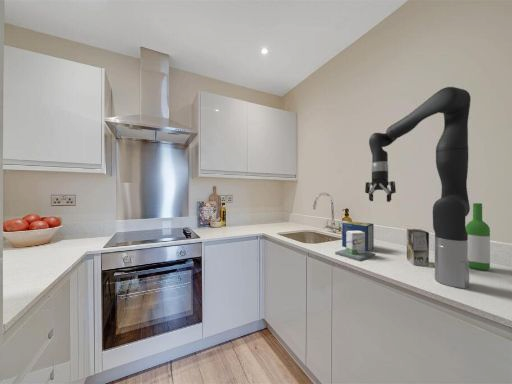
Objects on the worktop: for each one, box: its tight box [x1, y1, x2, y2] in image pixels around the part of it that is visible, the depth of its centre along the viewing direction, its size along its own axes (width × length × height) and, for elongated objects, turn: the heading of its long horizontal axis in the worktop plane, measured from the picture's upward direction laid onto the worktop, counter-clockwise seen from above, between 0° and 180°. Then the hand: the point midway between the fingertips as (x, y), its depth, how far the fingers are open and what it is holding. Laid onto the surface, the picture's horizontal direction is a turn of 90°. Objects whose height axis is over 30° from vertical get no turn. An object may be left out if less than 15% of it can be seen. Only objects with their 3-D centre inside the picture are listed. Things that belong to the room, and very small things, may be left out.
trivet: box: [334, 248, 376, 262], centre depth 114 cm, size 14×16×1 cm
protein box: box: [341, 220, 375, 252], centre depth 129 cm, size 10×15×16 cm
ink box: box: [345, 231, 365, 254], centre depth 114 cm, size 8×5×12 cm, turn 104°
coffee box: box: [406, 228, 430, 267], centre depth 101 cm, size 9×6×16 cm
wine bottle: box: [465, 202, 491, 271], centre depth 95 cm, size 8×8×30 cm
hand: (379, 201), depth 109 cm, fingers open, 8 cm apart
